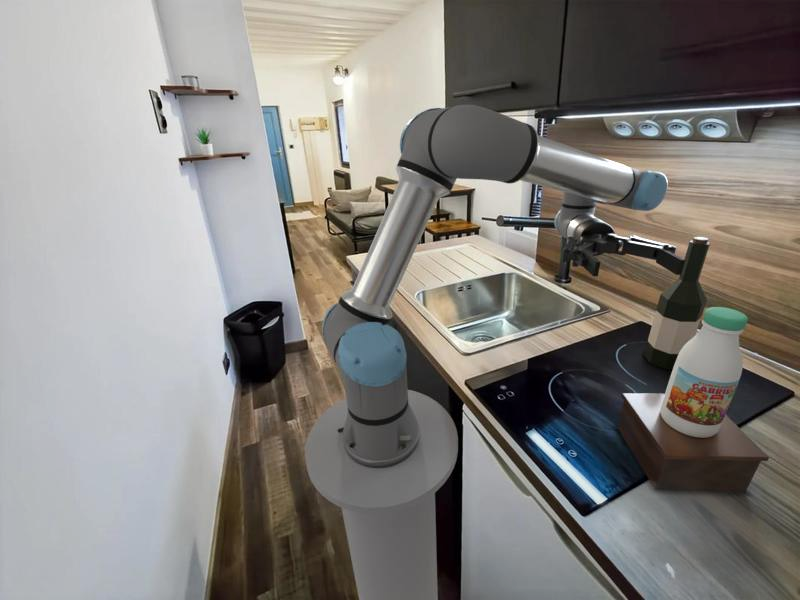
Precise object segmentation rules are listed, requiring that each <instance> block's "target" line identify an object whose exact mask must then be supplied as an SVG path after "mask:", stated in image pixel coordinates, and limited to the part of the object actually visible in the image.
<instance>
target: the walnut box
mask: <svg viewBox="0 0 800 600" xmlns="http://www.w3.org/2000/svg"><path fill="white" fill-rule="evenodd" d="M664 395H665V392H664V393H663V392H662V393H661V392H658V393H655V392H653V393H651V392H649V393H648V392H647V393H646V392H643V393H641V392H638V393H637V392H628V393H627V392H622V393H621V398H622V399H623V404H622V407H621V410H620V415H619V419H618V422H617V426H616V428H617V430H618V432H619V433H620V435H621V436H622V438H623V440H624V441H625V443H626V445H627V446H628V448H629V450H630V451H631V453H632V455H633V456H634V458H635V460H636V461H637V463H638V464H639V465H640V468H641V469H642V471H643V472H644V474H645V475H646V478H647V479H648V480H649V482H650V483H651V485H652V486H653V488H654V490H664V491H665V490H667V491H696V492H697V491H698V492H700V491H701V492H733V493H737V492H738V493H746V491H747V489H748V487H749V486H750V483H751V481H752V480H753V478H754V476H755V474H756V471H757V470H758V468H759V466H760V464H761V463H762V462H768V461H769V459H770V457H769V456H768V455H767V454H766V453H765V452H764V450H763V449H762V448H761V447H759V446H758V445H757V443H755V442H754V440H753V439H751V438H750V437H749V436H748V435H747V434H746V433H745V432H744V431H743V430H742V429H741V428H740V427H739V426H738V425H737V424H736V423H735V422H734V421H733V420H732V419H731V418H730V417H729V416H728V415H727V414H726V415H725V417H724V419H723V422H722V424H721V426H720V429H719V431H718V432H717V433H716V434H715V435H713V436H711V437H707V438H700V437H693V436H689V435H686V434H684V433H681V432H679V431H677V430H675V429H674V428H672V427H671V426H669V425H668V424H667V423H666V422H665V421H664V420H663V418H662V416H661V413H660V409H661V405H662V402H663V399H664Z"/></svg>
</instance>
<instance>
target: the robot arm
mask: <svg viewBox="0 0 800 600" xmlns="http://www.w3.org/2000/svg"><path fill="white" fill-rule="evenodd" d="M399 151H400V154H401V155H400V157H399V159H398V162H397V165H396V167H395V171H396V173H397V176H398V182H397V184H396V187H395V189H394V191H393V194H392V196H391V198H390V200H389V203H388V205H387V207H386V210H385V212H384V215H383V217H382V219H381V221H380V224H379V226H378V228H377V230H376V233H375V235H374V238H373V239H372V242H371V244H370V246H369V249H368V251H367V253H366V256H365V258H364V260H363V263H362V265H361V268H360V269H359V272H358V274H357V277H356V279H355V282H354V284H353V286H352V288H351V289H349V290H346V291H344V292H342V293H341V295H340V296H339V297H340V298H339V300H338V301H337V303H333V304H332V305H331V306H329V308H328V309H327V311H326V312H325V314H324V316H323V319H322V323H321V331H322V338H323V340H324V341H323V342H324V344H325V345H326V347H327V349H328V351H329V353H330V355H331V357H332V359H333V361H334V364H335V366H336V368H337V370H338V373H339V375H340V377H341V379H342V383H343V387H344V393H345V398H346V400H347V406H348V413H347V417H346V421H345V425H344V427H343V428H340V429H338V432H339V433H340V432H343V442H344V448H345V451H346V453H347V454H348V456H349V457H350V458H351V459H352V460H353V461H355V462H356V463H358V464H360V465H362V466H365V467H370V468H386V467H390V466H394V465H397V464H399V463H401V462H403V461H404V460H406V459H407V458H408V457H409V456H410V455H411V454H412V453H413V452H414V451H415V449H416V447H417V445H418V443H419V424H418V421H417V419H416V417H415V415H414V413H413V411H412V409H411V407H410V405H409V403H408V390H409V389H408V388H409V387H408V372H407V357H408V356H407V351H406V350H407V349H406V347H405V341H404V339H403V337H402V334H401V333H400V332H399V331H398V330H397V329H396V328H394V327H392V326H391V325H389V324H390V323H391V320H392V318H393V312H392V310H391V303H392V301H393V298H394V297H395V294H396V292H397V290H398V288H399V286H400V283H401V281H402V280H403V277H404V275H405V274H406V271H407V268H408V266H409V264H410V262H411V260H412V257H413V255H414V253H415V251H416V249H417V247H418V245H419V242H420V240H421V238H422V236H423V234H424V232H425V230H426V227H427V226H428V223H429V221H430V219H431V216H432V214H433V213H434V210H435V208H436V206H437V203H438V202H439V199H441V198H443V197H446V196H448V195H450V194H451V192H452V190H453V188H454V185H455V183H456V182H457V179H459V180H484V181H495V182H501V183H504V184H509V185H511V184H515V183H517V182H520V181H521V182H524V183H528V184H533V185H537V186H540V187H545V188H548V189H551V190H556V191H560V192H562V193H563V194H562V201H561V206H560V210H558V212H557V213H556V215H555V217H554V221H553V222H554V223H553V225H554V227H555V229H556V231H557V232H558V233H559V235H560V236H561V237H562V238H564V239H566V244H565V246H564V247H563V249H562V256H561V262H563V263H568V262H569V261H572V262H571V266H572V267H574V268H578V267H579V266H580V267H583V268H584V269H585V270H586V271H587V272H588V273H589V274H590V275H591V277H599V273H600V268H601V261H600V260H599V259H598V258H597V256H602V255H603V254H608V255H611V254H613V255H617V256H618V255H619V256H625V255H629V256H634V257H639V258H643V259H649V260H653V261H655V263H656V264H658V265H659V266H661V267H663V268H664V269H665V270H668V271H669V272H670V273H672V274H673V275H675V276H680V275H681V274H682V270H683V267H684V263H685V258H683V257H681V256H679V255H677V254H676V251H677V246H675V245H671V244H669V243H663V242H659V241H655V240H651V239H647V238H643V237H640V236H637V235H635V234H630V235H629V236H628V237H626V236H621V235H618V234H617V233H616V231H615V229H614V227H613V226H611V224H608V223H607V222H606V221H603V219H600V218H598V217H596V216H595V211H596V207H597V204H602V205H608V206H614V207H618V208H623V209H629V210H633V211H641V212H642V211H643V212H649V211H652V210H653V211H654V209H656V208H657V207H658V206H659V205H661V204H662V202H663V201H664V199H665V196H666V194H667V192H668V186H669V182H668V178H667V177H666V175H665V174H664V173H662V172H660V171H652V170H651V169H649V170H648V169H647V170H643V169H642V170H641V169H638V168H637V169H636V168H634V167H630V166H626V165H625V164H622V163H619V162H616V161H614V160H610V159H608V158H604V157H602V156H599V155H596V154H593V153H591V152H588V151H585V150H582V149H579V148H576V147H573V146H570V145H568V144H565V143H562V142H559V141H557V140H554V139H551V138H548V137H544V136H542V135H540V134H538V131H537V130H536V127H534V126H533V125H531V124H530V123H527V122H523V121H521V120H518V119H515V118H513V117H510V116H508V115H505V114H503V113H500V112H498V111H495V110H492V109H489V108H487V107H483V106H480V105H474V104H468V103H467V104H458V105H454V106H449V107H443V108H442V107H432V108H429V109H425V110H422V111H421V112H419V113H418V114H416V115H414V116H413V117H412V118H410V120H408V122H407V123H406V124H405V126H404V128H403V130H402V132H401V135H400V139H399ZM620 249H621V250H620Z"/></svg>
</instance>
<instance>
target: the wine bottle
mask: <svg viewBox="0 0 800 600" xmlns="http://www.w3.org/2000/svg"><path fill="white" fill-rule="evenodd" d="M710 245H711V242H709V238H708V237H704V236H694V237H693V238H692V239H691V240H690V241H689V243H688V245H687V249H686V253H685V256H684V259H685V263H684V267H683V270H682V274H681V275H678V276H679V277H678V278H677V279H676V280H675V281H674V282H673V283H671V284H670V285H669V286H668V287H667V288H666V289H665V290H663V291H662V292H661V293H660V295H659V299H658V302H657V306H656V309H655V313H654V316H653V319H652V325H651V328H650V332H649V334H648V339H647V343H646V345H645V349H644V353H643V357H645V359H646V360H647V361H648V363H649V364H651V365H653V366H657V367H659V368H662V369H665V370H673V368H674V365H675V362H676V359H677V357H678V354H679V352H680V351H681V349H682V348H683V346H684V345H685V344H686V343H687V342H688V341H690V340H691V339H692V338H693V337H694V336H695V335H696V334H697V332H698V331H697V330H698V328H699V325H700V322H701V321H702V320H701V319H702V318H703V317H702V316H703V315H704V314H703V313H704V310H705V307H706V305H707V301H708V300H707V297H706V295H705V292H704V290H703V288H702V285H701V283H700V281H699V280H700V277H701V275H702V270H703V267H704V264H705V261H706V258H707V255H708V251H709V248H710Z"/></svg>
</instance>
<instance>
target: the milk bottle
mask: <svg viewBox="0 0 800 600" xmlns="http://www.w3.org/2000/svg"><path fill="white" fill-rule="evenodd" d="M702 318H703V319H702V320H701V324H702V327H700V330H699V331H697V332H696V334H695V336H694V337H693V338H692V339H691V340H690V341H688V342H687V343H686V344H685V345H684V346H683V348H682V349H681V351H680V352H679V354H678V357H677V359H676V362H675V365H674V368H673V369H672V371H671V374H670V376H669V380H668V382H667V386H666V389H665V392H664V393H665V395H664V399H663V402H662V405H661V409H660V413H661V416H662V418H663V420H664V421H665V422H666V423H667V424H668V425H669V426H671V427H672V428H674V429H675V430H677V431H679V432H681V433H684V434H686V435H689V436H693V437H700V438H707V437H711V436H713V435H715V434H716V433H717V432H718V431H719V429H720V426H721V424H722V422H723V419H724V417H725V415H727V412H728V410H729V408H730V405H731V402H732V400H733V397H734V395H735V393H736V390H737V387H738V385H739V382H740V380H741V376H742V373H743V368H744V367H743V366H744V362H743V361H744V360H743V355H742V352H741V347H740V335H741V334H743V333H744V330H745V328H746V326H747V324H748V321H749V319H748V318H749V317H748V316H747V315H746V314H745V313H743V312H741V311H739V310H736V309H733V308H729V307H724V306H712V307H708V308H706V310H705V312H704V314H703V317H702Z"/></svg>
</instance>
